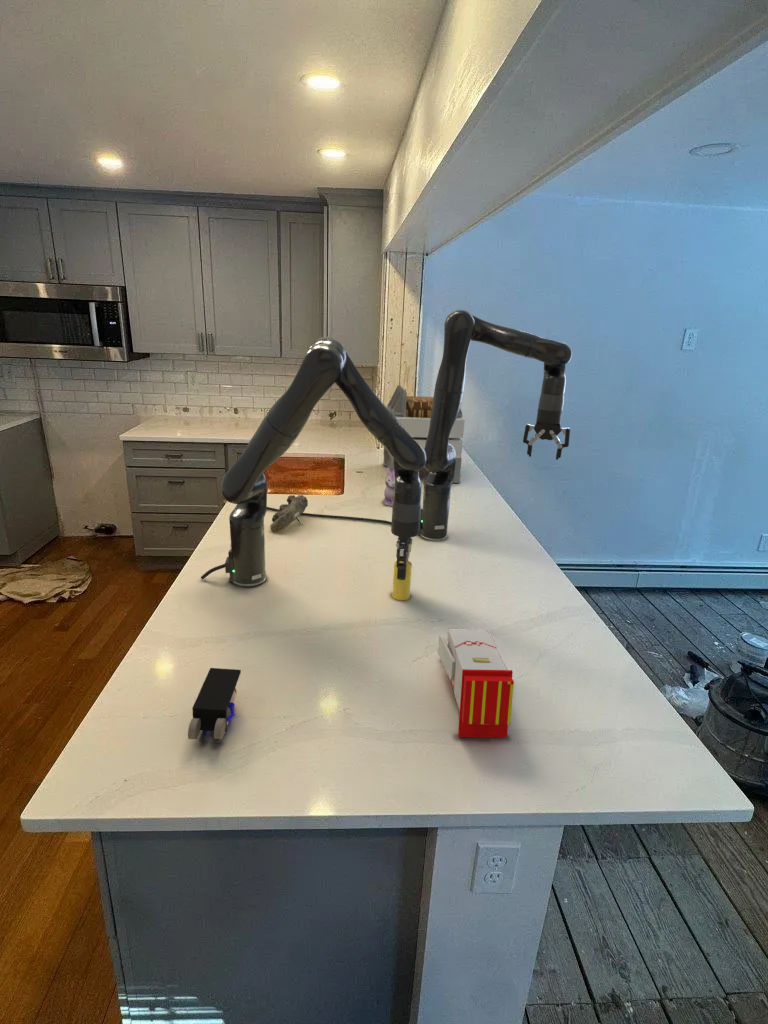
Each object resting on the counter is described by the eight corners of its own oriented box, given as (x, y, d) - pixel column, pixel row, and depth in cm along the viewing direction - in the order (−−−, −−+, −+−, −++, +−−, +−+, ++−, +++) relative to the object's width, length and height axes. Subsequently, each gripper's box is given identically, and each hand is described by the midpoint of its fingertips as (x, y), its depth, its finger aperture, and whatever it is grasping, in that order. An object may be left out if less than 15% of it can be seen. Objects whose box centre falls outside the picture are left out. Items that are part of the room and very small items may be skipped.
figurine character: (226, 757, 100) (244, 694, 114) (223, 726, 97) (241, 665, 110) (188, 756, 100) (210, 694, 114) (183, 725, 97) (207, 664, 110)
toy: (488, 613, 130) (523, 677, 101) (484, 667, 133) (517, 744, 104) (435, 612, 130) (455, 676, 101) (432, 666, 133) (451, 743, 103)
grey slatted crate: (382, 463, 289) (386, 382, 275) (445, 464, 293) (451, 384, 279) (390, 482, 257) (394, 392, 243) (460, 483, 261) (468, 394, 247)
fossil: (276, 500, 214) (305, 479, 209) (292, 519, 217) (322, 499, 212) (259, 527, 195) (291, 505, 190) (277, 547, 198) (310, 526, 193)
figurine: (388, 507, 225) (390, 471, 220) (377, 500, 233) (378, 464, 228) (409, 505, 229) (411, 469, 224) (397, 497, 238) (399, 462, 232)
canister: (411, 600, 155) (413, 567, 152) (393, 600, 154) (395, 567, 151) (407, 591, 160) (410, 559, 156) (390, 592, 159) (392, 559, 156)
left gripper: (418, 527, 142) (413, 588, 148) (422, 508, 155) (418, 565, 161) (388, 524, 143) (385, 585, 149) (395, 506, 156) (392, 562, 162)
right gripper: (526, 407, 177) (520, 458, 183) (574, 411, 174) (566, 462, 179) (527, 404, 184) (521, 452, 190) (573, 408, 181) (565, 457, 186)
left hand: (402, 574), depth 155 cm, fingers open, 5 cm apart
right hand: (543, 457), depth 185 cm, fingers open, 8 cm apart
